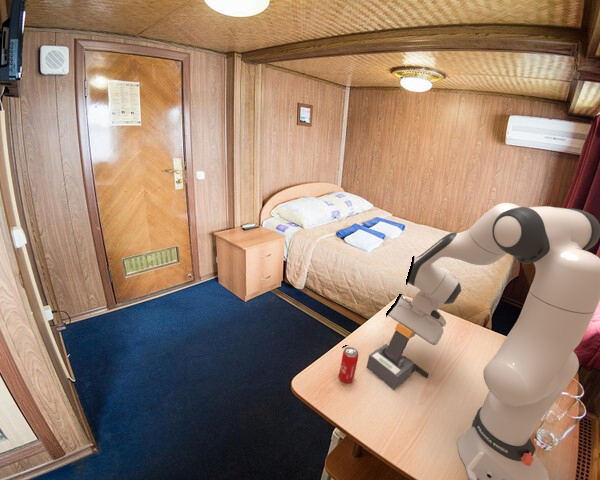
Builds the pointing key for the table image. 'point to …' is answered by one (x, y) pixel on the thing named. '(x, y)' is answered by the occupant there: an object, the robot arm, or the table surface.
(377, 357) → the breaker housing
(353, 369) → the beverage can
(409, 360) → the bar
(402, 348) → the breaker lever
